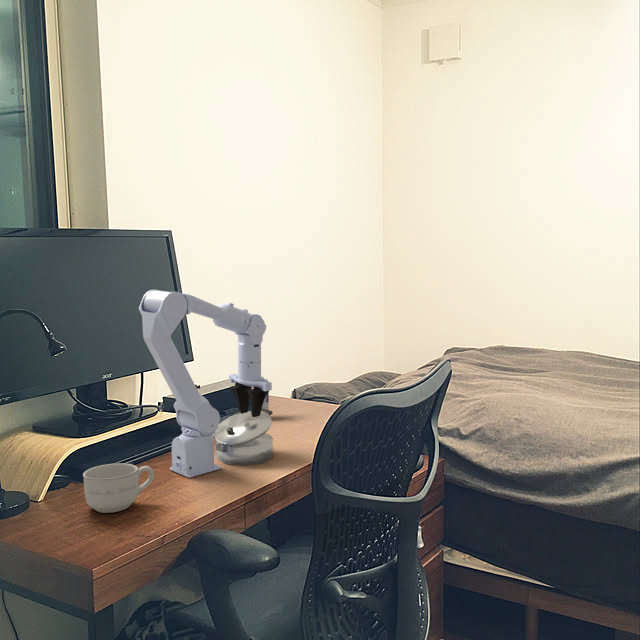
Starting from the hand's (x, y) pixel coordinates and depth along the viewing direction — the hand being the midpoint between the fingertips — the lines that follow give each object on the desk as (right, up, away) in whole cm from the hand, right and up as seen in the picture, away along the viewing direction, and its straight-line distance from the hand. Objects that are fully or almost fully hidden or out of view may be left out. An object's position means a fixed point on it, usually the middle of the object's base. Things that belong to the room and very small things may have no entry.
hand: (249, 414), depth 175 cm
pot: (-1, -11, 0) cm, 11 cm away
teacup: (-23, -15, -33) cm, 43 cm away
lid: (-1, -3, -1) cm, 3 cm away
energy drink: (-1, -6, +36) cm, 36 cm away
